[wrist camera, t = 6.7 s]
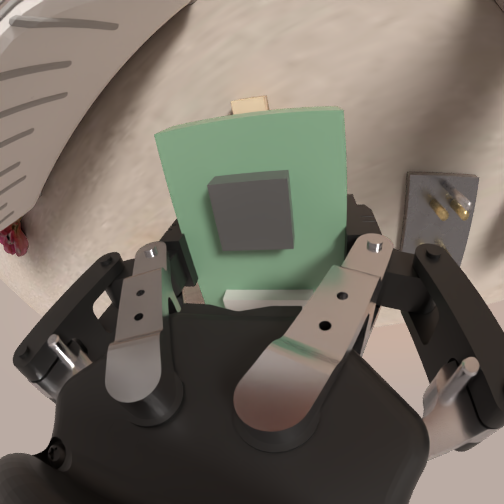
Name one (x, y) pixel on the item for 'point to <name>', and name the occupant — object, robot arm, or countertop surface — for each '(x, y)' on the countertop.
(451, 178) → the chassis
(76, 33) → the toaster
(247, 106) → the beige wooden block
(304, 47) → the countertop surface
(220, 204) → the board
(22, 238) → the flower
